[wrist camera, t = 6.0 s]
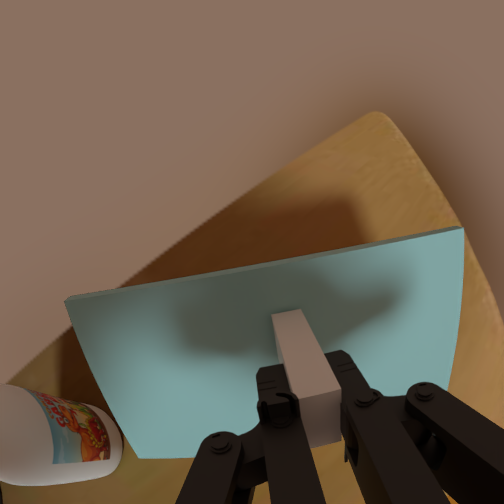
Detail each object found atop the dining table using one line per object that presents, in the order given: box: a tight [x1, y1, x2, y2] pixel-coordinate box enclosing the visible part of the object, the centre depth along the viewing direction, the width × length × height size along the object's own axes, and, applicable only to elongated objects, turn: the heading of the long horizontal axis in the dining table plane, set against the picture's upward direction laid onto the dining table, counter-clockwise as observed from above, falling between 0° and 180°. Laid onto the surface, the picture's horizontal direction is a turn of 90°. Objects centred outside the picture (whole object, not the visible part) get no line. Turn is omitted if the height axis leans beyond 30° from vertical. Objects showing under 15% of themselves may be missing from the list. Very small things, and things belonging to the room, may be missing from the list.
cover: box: [64, 226, 464, 458], centre depth 17 cm, size 23×13×1 cm
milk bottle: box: [0, 384, 123, 486], centre depth 14 cm, size 8×8×20 cm
